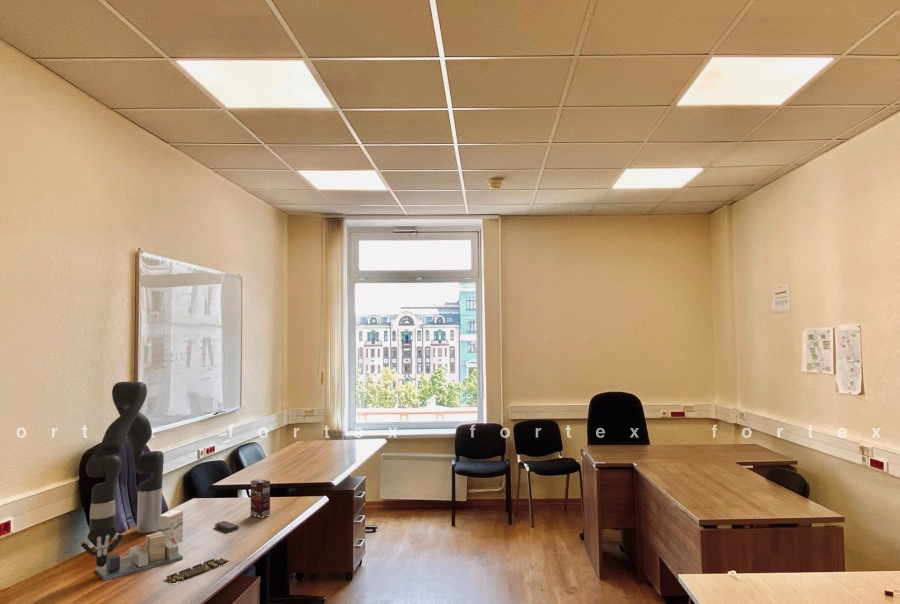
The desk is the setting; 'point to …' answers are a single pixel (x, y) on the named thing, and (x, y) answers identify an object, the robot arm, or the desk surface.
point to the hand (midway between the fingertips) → (101, 566)
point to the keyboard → (195, 570)
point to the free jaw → (128, 558)
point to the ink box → (172, 525)
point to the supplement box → (260, 497)
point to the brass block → (155, 546)
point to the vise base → (130, 567)
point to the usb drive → (226, 526)
